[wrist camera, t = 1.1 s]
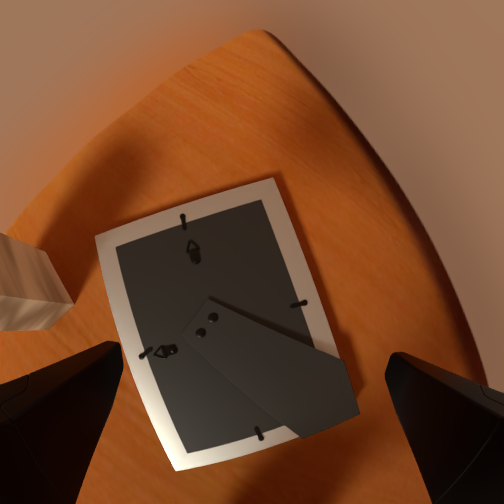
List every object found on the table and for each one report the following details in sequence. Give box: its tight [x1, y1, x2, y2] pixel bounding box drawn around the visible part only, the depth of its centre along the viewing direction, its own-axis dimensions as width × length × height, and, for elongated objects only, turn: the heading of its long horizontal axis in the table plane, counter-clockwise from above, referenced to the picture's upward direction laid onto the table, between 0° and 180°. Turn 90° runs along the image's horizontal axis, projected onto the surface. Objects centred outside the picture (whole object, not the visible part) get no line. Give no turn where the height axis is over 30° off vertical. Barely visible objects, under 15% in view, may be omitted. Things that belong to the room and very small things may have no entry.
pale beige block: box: [0, 233, 75, 331], centre depth 16 cm, size 4×6×13 cm, turn 40°
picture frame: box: [95, 178, 360, 471], centre depth 22 cm, size 16×3×21 cm
